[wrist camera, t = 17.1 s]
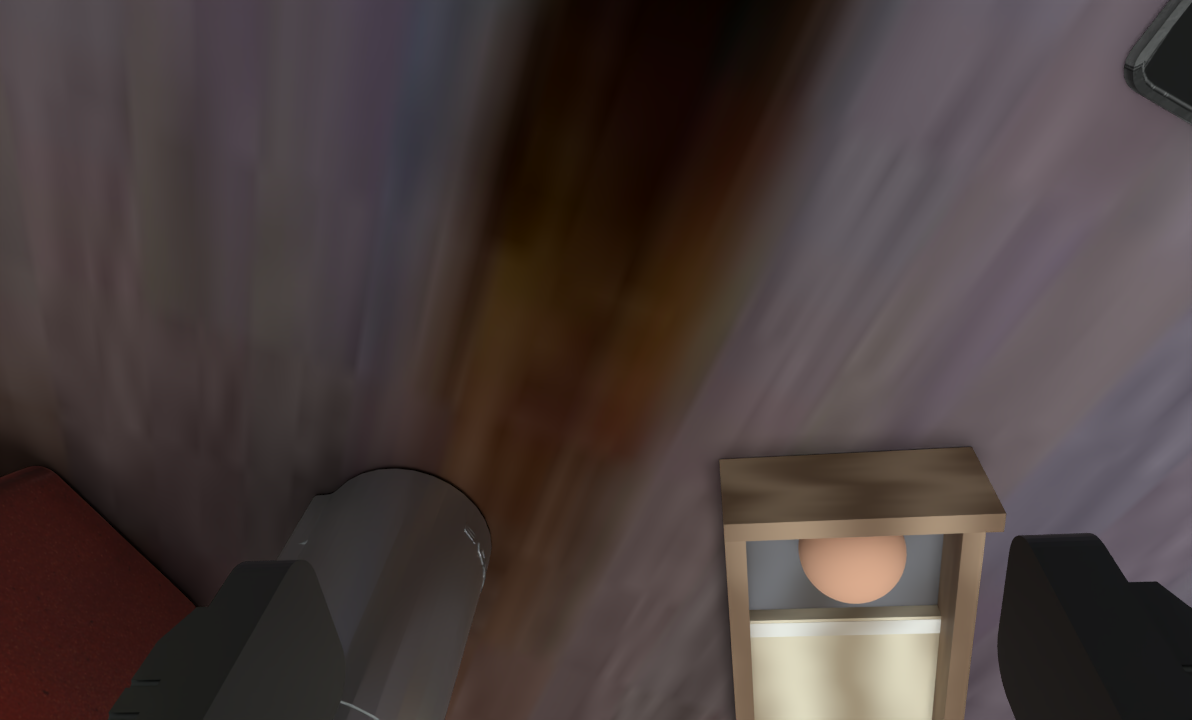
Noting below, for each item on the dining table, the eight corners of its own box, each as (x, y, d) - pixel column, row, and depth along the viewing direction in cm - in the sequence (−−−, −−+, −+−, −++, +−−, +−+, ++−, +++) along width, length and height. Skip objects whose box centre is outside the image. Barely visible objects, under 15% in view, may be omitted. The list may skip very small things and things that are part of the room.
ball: (798, 495, 40) (808, 607, 39) (909, 490, 39) (923, 603, 38) (790, 503, 45) (799, 603, 44) (889, 499, 44) (901, 600, 43)
